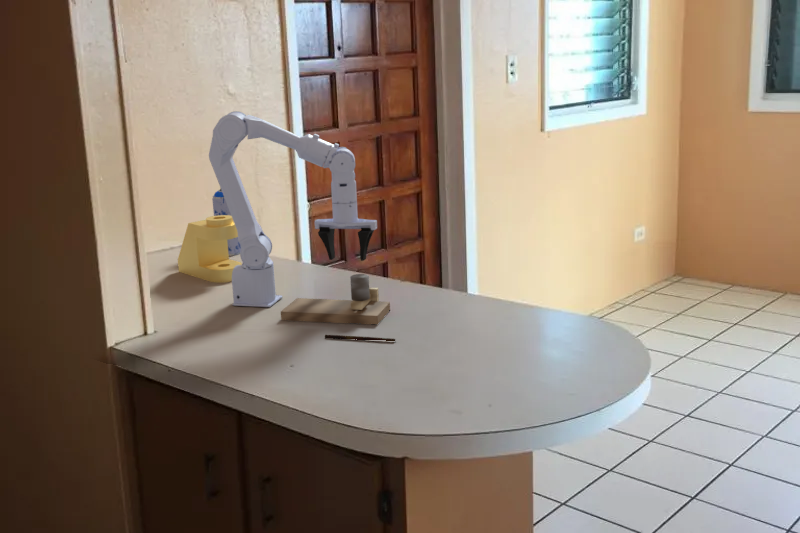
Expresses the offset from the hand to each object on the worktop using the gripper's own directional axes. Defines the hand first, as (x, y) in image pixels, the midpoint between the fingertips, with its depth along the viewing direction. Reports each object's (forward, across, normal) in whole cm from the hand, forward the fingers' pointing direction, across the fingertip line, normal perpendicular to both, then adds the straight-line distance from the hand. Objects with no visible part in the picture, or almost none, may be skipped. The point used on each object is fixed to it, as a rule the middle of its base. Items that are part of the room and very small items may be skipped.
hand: (347, 259), depth 199 cm
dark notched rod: (+10, +11, -28) cm, 31 cm away
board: (+9, +1, -13) cm, 16 cm away
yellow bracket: (+10, -43, +16) cm, 47 cm away
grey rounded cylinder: (+9, +7, -11) cm, 15 cm away
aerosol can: (+10, -49, +39) cm, 63 cm away
